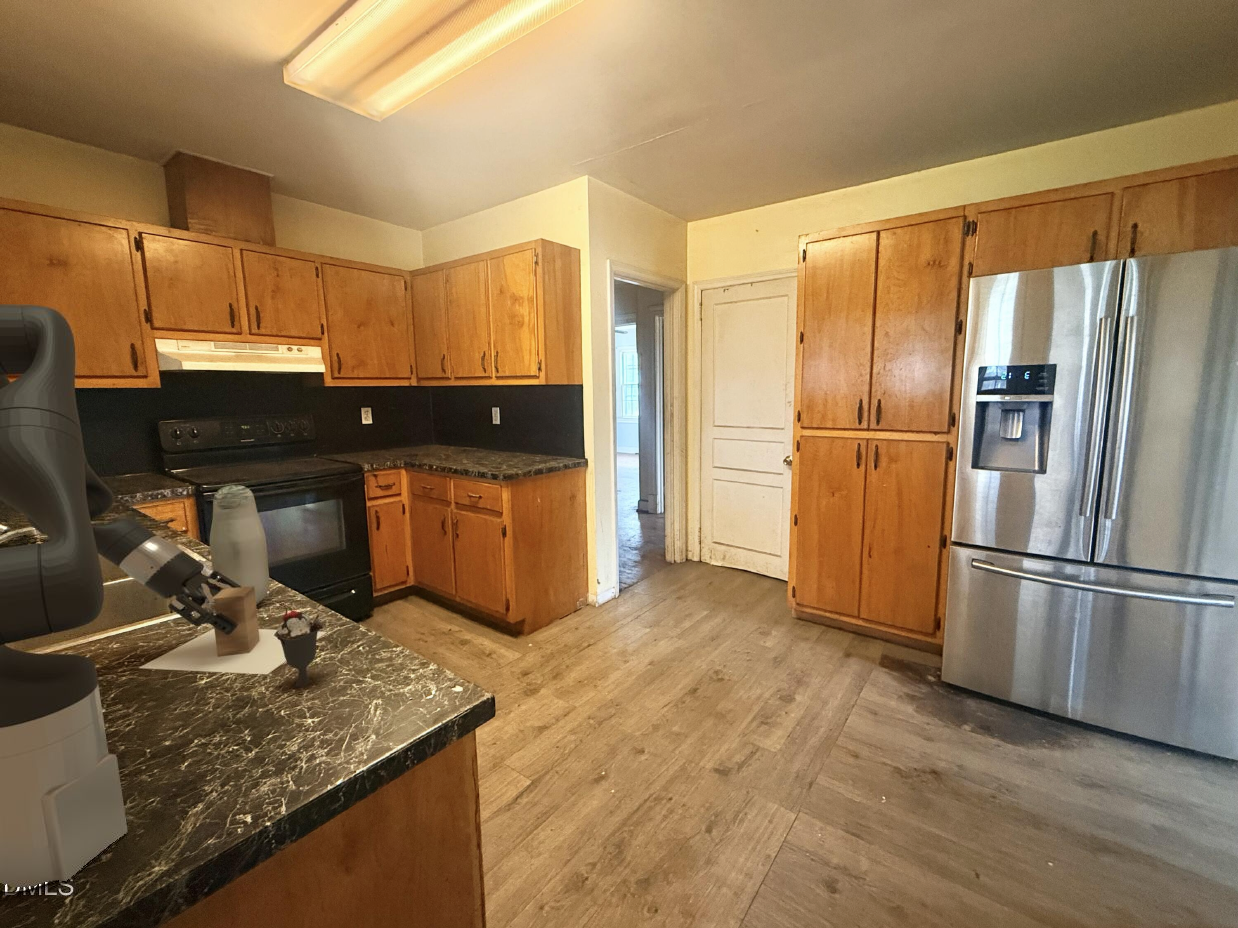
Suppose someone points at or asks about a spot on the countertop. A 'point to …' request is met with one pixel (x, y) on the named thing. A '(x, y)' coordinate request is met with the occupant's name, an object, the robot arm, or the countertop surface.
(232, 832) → the countertop surface
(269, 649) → the cream sheet of paper
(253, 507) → the glass bottle
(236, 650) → the walnut block
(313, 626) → the sundae
